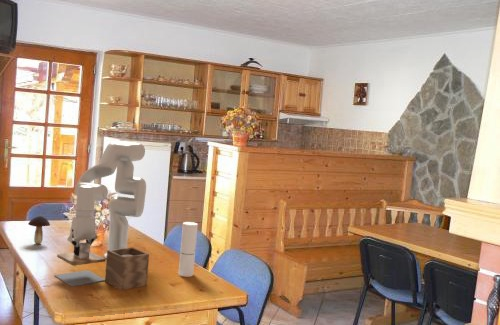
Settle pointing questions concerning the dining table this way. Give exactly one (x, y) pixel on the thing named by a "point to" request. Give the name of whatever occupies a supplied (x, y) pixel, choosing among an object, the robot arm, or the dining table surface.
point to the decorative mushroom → (39, 228)
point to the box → (126, 268)
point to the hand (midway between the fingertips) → (81, 254)
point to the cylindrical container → (188, 249)
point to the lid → (81, 256)
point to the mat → (79, 278)
